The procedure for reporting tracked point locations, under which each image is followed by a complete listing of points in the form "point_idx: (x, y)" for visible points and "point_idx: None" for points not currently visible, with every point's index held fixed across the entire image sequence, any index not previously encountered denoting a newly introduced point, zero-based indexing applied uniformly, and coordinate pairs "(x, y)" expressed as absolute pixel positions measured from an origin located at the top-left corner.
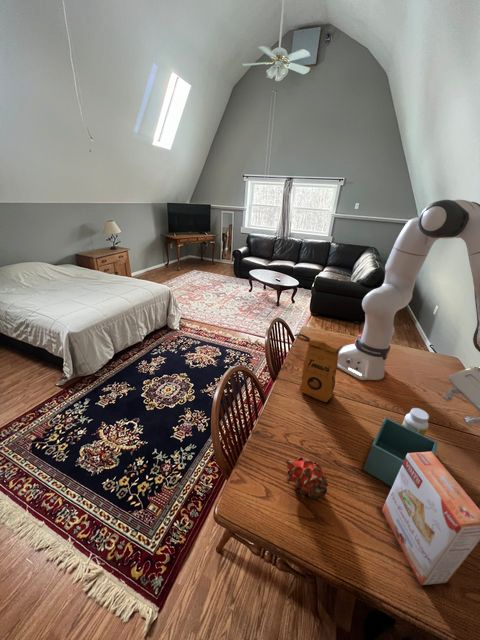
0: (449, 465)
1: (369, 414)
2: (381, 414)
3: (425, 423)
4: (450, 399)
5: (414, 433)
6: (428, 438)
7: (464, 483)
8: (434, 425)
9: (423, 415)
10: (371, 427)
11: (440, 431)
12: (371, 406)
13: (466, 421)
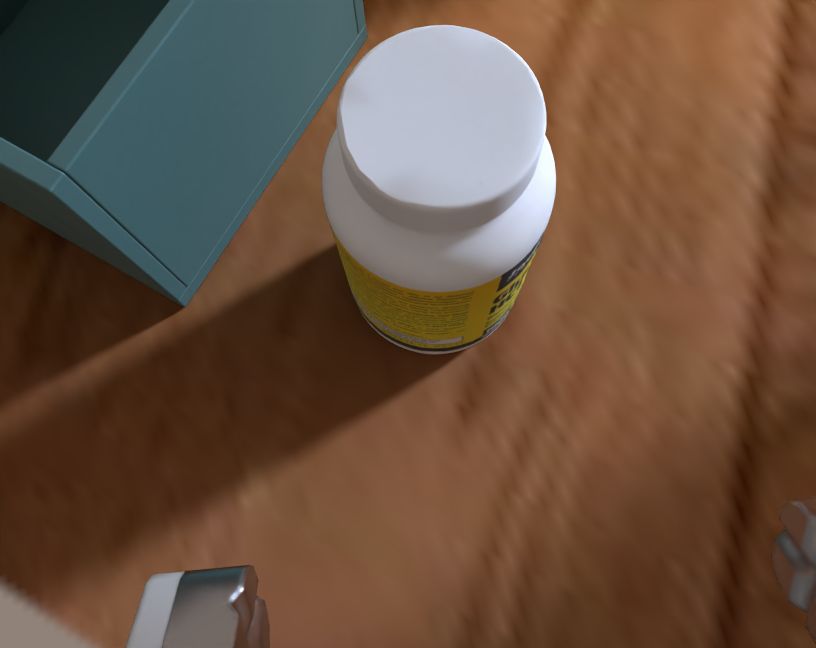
0: (225, 511)
1: (651, 46)
2: (686, 141)
3: (372, 214)
4: (814, 607)
5: (162, 19)
6: (94, 119)
7: (72, 549)
8: (698, 600)
9: (409, 141)
10: (498, 30)
11: (625, 625)
12: (768, 83)
13: (171, 573)
